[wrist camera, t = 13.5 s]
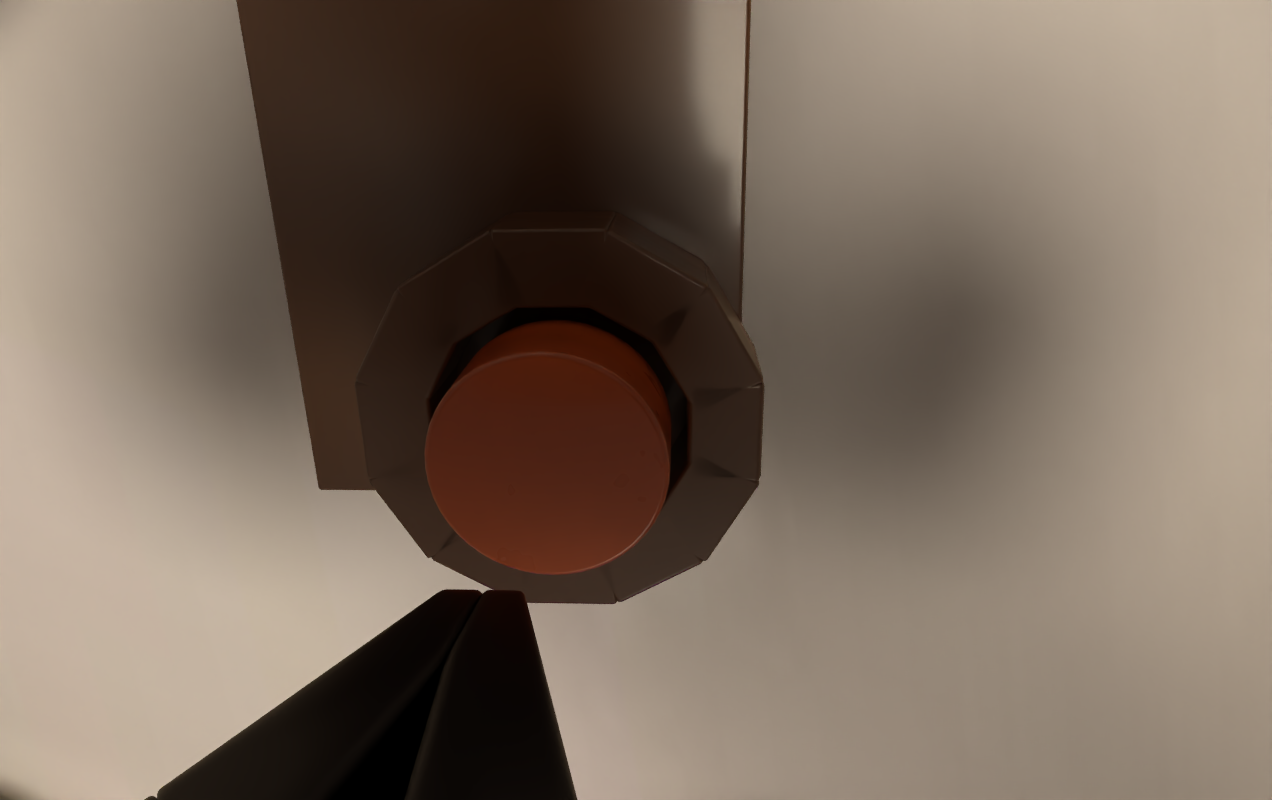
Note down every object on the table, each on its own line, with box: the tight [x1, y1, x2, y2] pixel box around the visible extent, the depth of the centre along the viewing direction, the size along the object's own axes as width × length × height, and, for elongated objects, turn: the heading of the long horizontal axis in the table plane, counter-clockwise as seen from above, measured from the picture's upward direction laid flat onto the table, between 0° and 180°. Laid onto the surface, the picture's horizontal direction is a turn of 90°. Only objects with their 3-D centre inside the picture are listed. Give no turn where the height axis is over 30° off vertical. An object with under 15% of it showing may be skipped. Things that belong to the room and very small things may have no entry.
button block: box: [236, 0, 764, 604], centre depth 15 cm, size 10×8×4 cm
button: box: [424, 320, 671, 575], centre depth 13 cm, size 4×4×2 cm
